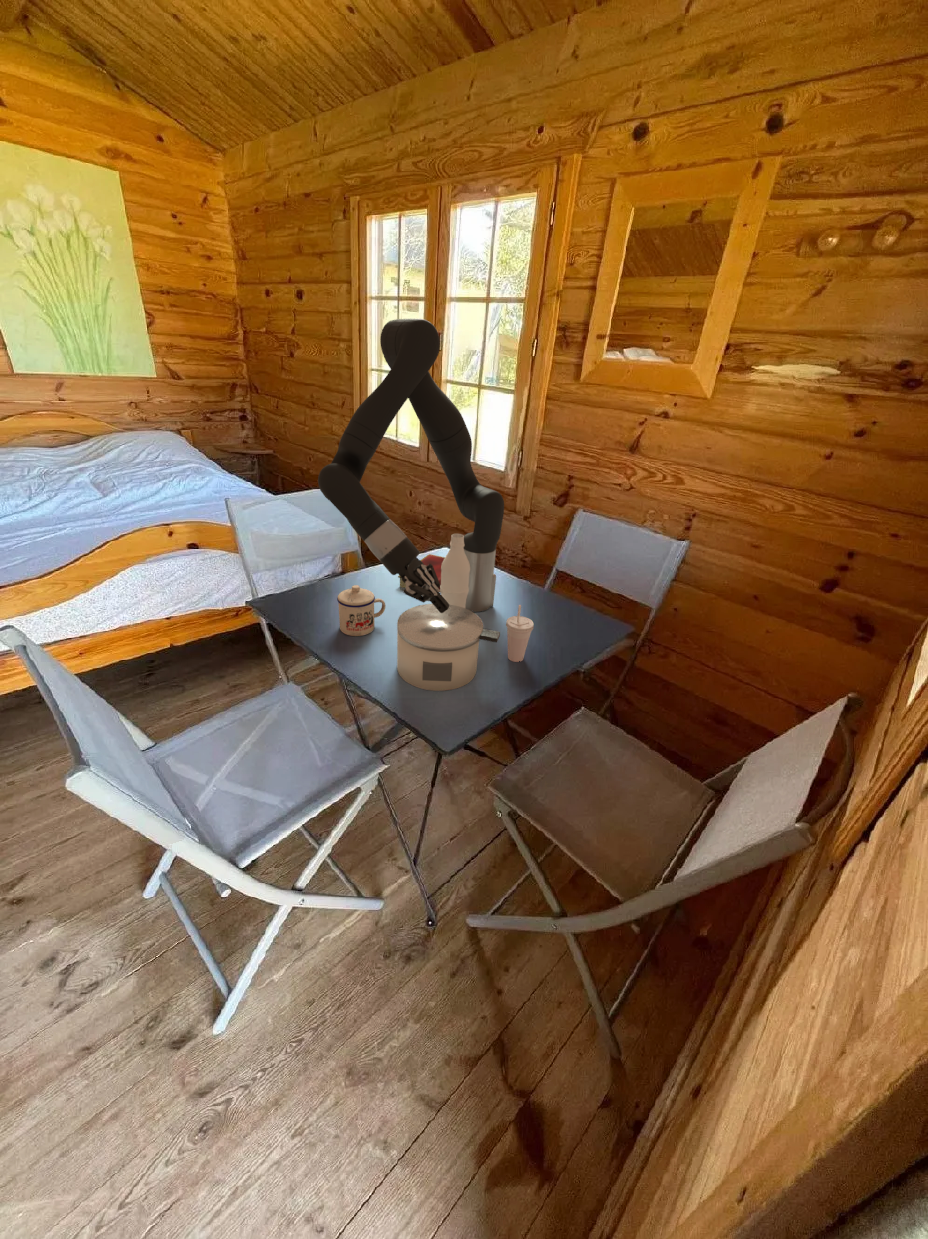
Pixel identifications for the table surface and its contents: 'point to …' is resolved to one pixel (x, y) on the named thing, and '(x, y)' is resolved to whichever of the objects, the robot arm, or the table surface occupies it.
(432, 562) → the hardcover book
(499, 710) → the table surface
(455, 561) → the water bottle
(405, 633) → the cooker lid
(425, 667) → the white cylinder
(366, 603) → the teacup with lid
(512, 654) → the smoothie
